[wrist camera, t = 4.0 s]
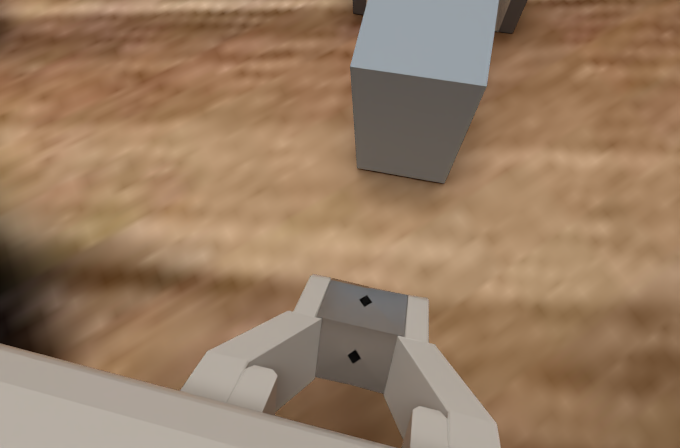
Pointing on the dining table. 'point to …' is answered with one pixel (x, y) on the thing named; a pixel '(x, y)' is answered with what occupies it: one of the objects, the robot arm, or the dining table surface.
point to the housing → (506, 20)
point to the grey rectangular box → (419, 82)
